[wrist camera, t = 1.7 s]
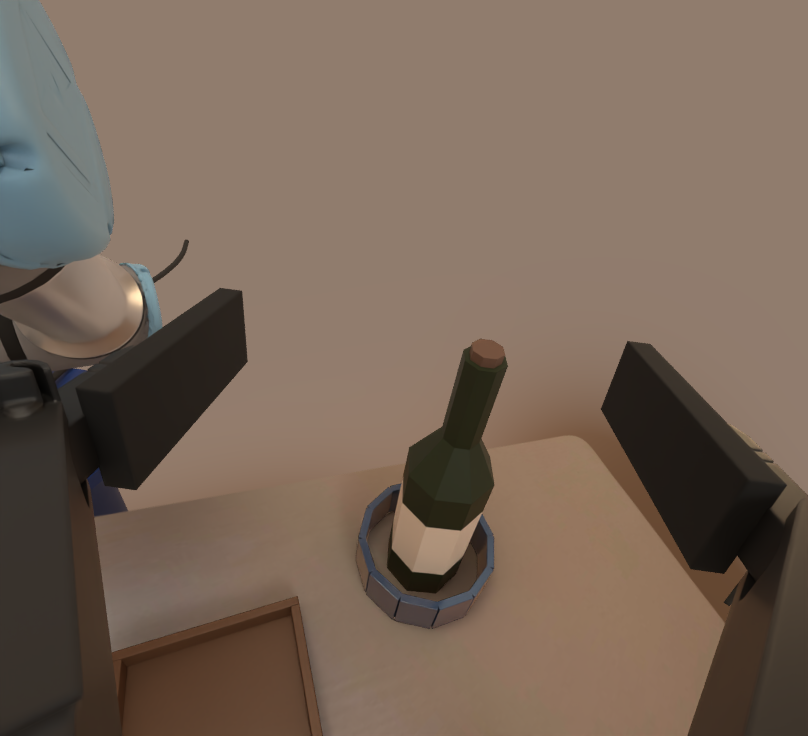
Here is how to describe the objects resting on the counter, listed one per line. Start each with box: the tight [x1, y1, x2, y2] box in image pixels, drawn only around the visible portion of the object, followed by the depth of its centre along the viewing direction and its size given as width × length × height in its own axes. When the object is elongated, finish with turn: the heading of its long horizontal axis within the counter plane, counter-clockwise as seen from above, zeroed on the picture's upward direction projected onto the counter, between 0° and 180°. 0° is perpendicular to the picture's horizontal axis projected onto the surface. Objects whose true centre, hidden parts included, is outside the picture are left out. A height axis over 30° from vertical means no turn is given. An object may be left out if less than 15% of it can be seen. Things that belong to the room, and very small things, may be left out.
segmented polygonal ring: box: [356, 483, 494, 629], centre depth 49 cm, size 15×15×4 cm
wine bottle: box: [387, 339, 508, 593], centre depth 41 cm, size 8×8×30 cm
